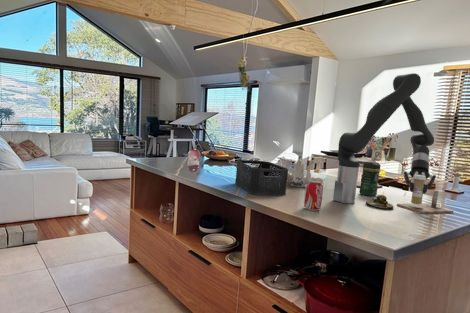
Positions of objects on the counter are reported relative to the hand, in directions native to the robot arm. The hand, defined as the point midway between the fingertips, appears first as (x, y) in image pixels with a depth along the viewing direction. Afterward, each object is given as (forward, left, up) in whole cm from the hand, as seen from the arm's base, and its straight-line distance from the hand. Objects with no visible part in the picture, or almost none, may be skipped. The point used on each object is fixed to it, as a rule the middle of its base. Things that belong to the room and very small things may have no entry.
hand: (418, 191), depth 151 cm
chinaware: (-27, +56, -9) cm, 63 cm away
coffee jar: (+1, +31, -9) cm, 33 cm away
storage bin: (-59, +45, -9) cm, 75 cm away
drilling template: (+7, +1, -9) cm, 11 cm away
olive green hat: (-15, +7, -9) cm, 19 cm away
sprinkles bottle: (+2, +1, -6) cm, 6 cm away
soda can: (-54, +5, -9) cm, 55 cm away
